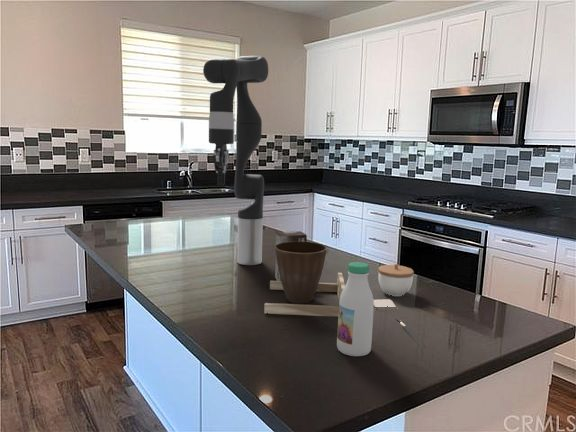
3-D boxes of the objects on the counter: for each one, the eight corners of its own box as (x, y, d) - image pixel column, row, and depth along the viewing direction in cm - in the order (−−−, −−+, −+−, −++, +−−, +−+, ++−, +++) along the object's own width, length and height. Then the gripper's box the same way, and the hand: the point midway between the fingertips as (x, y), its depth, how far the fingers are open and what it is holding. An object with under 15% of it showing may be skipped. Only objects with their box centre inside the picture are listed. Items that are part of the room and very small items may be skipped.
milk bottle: (367, 342, 108) (372, 259, 105) (374, 357, 101) (380, 269, 97) (334, 341, 108) (338, 259, 105) (339, 357, 100) (344, 268, 97)
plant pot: (274, 308, 128) (276, 252, 125) (272, 290, 143) (274, 240, 140) (327, 309, 129) (330, 253, 126) (320, 291, 144) (323, 241, 141)
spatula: (390, 304, 136) (390, 299, 136) (436, 348, 107) (436, 342, 107) (370, 304, 135) (370, 299, 135) (411, 349, 106) (412, 343, 106)
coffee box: (300, 276, 158) (302, 230, 156) (306, 282, 152) (307, 234, 150) (274, 277, 156) (275, 231, 153) (279, 283, 150) (280, 235, 147)
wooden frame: (270, 288, 145) (270, 269, 144) (340, 291, 144) (341, 272, 143) (264, 313, 124) (264, 292, 123) (346, 317, 123) (348, 295, 122)
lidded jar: (370, 289, 147) (372, 260, 146) (399, 286, 151) (401, 258, 150) (389, 300, 137) (391, 270, 136) (419, 297, 141) (421, 267, 140)
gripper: (230, 127, 132) (229, 187, 135) (237, 128, 145) (236, 183, 148) (204, 126, 132) (204, 186, 135) (213, 127, 145) (213, 182, 148)
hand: (220, 185), depth 142 cm, fingers closed
